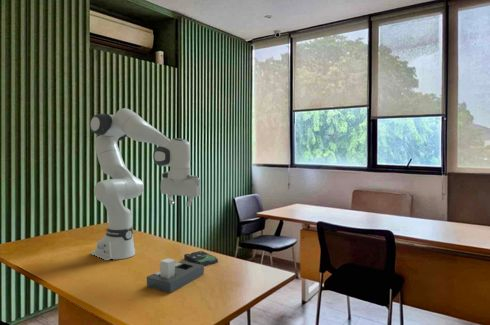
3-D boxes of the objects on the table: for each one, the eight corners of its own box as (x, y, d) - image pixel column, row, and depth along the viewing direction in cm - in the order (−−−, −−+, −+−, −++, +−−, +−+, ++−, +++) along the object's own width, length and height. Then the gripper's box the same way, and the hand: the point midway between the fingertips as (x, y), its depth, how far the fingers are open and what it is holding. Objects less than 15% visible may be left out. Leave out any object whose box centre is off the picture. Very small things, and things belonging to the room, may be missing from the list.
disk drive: (183, 260, 170) (200, 268, 158) (183, 254, 170) (200, 262, 158) (201, 255, 176) (218, 263, 165) (201, 250, 176) (218, 257, 165)
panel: (146, 286, 136) (146, 276, 136) (181, 269, 155) (181, 260, 155) (170, 293, 130) (170, 282, 130) (203, 274, 150) (203, 264, 150)
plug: (160, 285, 137) (160, 261, 137) (168, 281, 141) (168, 257, 141) (168, 287, 135) (168, 262, 135) (175, 283, 140) (175, 259, 139)
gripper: (203, 175, 152) (203, 206, 152) (167, 173, 161) (167, 202, 162) (195, 176, 146) (194, 208, 147) (158, 173, 156) (158, 204, 156)
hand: (180, 205), depth 154 cm, fingers open, 8 cm apart
